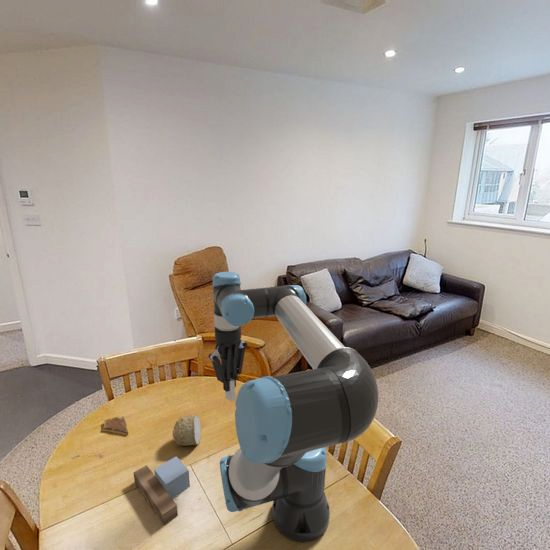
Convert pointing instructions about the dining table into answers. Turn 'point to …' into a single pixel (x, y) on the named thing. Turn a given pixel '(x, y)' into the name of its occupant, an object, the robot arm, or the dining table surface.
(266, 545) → the dining table surface
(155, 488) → the brown wavy bar
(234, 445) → the dining table surface
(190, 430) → the cut rock
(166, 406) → the dining table surface
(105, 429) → the shard
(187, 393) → the dining table surface
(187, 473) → the block
